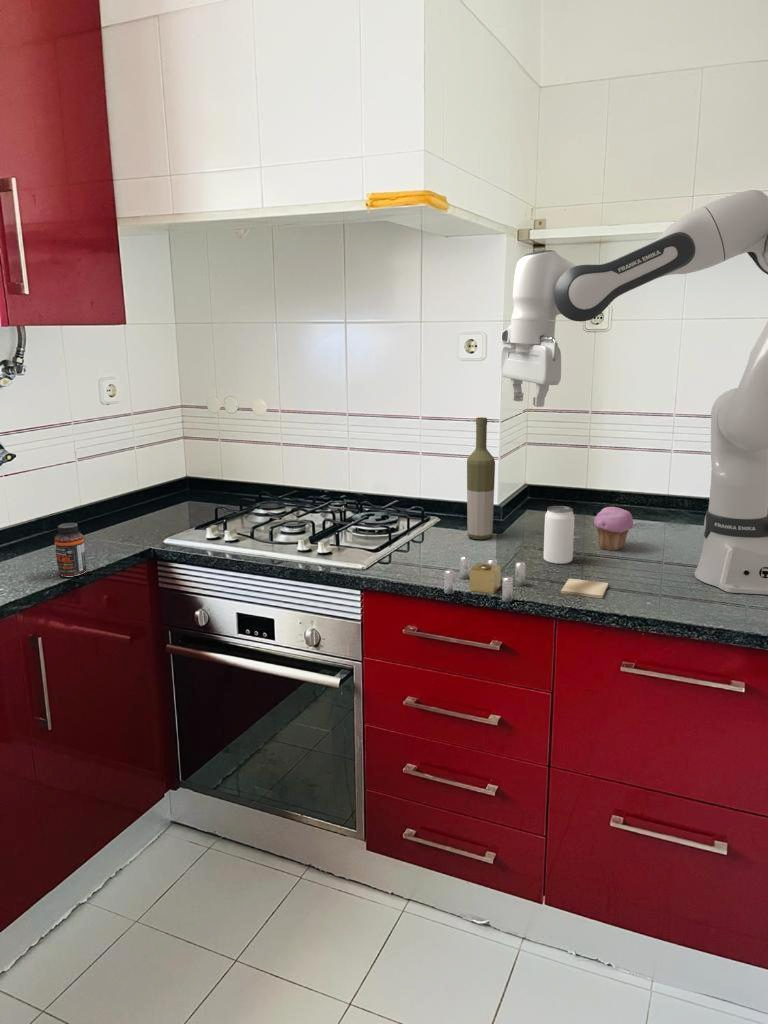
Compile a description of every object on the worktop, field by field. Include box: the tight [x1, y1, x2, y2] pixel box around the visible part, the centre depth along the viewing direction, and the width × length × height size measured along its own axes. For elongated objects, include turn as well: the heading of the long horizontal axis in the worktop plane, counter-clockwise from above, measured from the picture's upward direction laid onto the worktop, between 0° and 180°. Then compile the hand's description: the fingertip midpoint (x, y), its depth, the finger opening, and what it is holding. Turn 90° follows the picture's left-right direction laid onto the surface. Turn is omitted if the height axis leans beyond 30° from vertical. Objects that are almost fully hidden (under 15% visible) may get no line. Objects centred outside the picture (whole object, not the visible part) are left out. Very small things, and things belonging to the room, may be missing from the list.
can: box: [543, 505, 575, 565], centre depth 176 cm, size 6×6×12 cm
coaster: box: [560, 577, 609, 599], centre depth 159 cm, size 8×8×1 cm
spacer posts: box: [443, 555, 526, 603], centre depth 160 cm, size 14×12×4 cm
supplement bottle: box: [54, 522, 87, 576], centre depth 172 cm, size 6×6×11 cm
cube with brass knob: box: [468, 562, 502, 595], centre depth 160 cm, size 5×5×5 cm
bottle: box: [466, 416, 496, 540], centre depth 194 cm, size 7×7×30 cm
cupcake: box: [593, 506, 634, 551], centre depth 185 cm, size 9×9×10 cm
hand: (527, 403), depth 162 cm, fingers open, 8 cm apart
